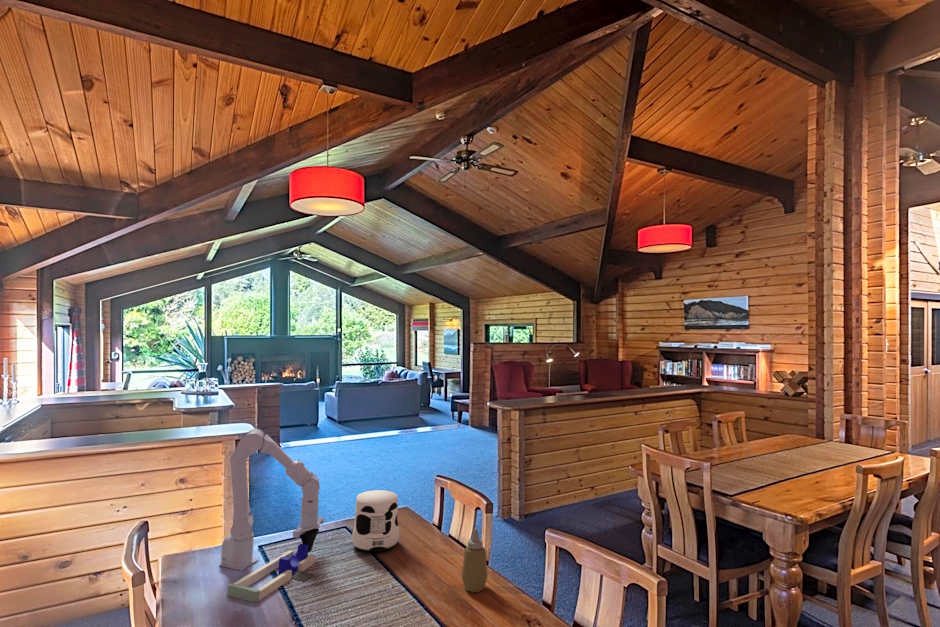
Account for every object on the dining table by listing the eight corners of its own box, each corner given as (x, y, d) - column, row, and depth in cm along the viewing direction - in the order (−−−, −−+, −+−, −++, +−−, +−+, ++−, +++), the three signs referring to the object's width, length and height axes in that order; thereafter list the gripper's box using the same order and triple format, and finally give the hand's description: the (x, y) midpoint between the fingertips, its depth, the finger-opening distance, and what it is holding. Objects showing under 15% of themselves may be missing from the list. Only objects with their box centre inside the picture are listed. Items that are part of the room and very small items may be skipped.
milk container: (376, 532, 193) (377, 486, 194) (408, 544, 183) (410, 495, 184) (341, 547, 179) (343, 497, 180) (374, 560, 169) (376, 507, 170)
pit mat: (291, 578, 155) (291, 578, 155) (301, 571, 159) (301, 571, 159) (304, 581, 153) (304, 581, 153) (314, 574, 158) (314, 573, 158)
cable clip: (295, 561, 167) (296, 543, 168) (307, 562, 166) (308, 544, 167) (274, 577, 156) (275, 557, 156) (286, 579, 155) (287, 559, 155)
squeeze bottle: (490, 584, 154) (491, 526, 155) (482, 597, 146) (484, 536, 148) (466, 580, 157) (467, 522, 158) (457, 592, 149) (459, 531, 150)
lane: (227, 595, 144) (227, 585, 144) (289, 557, 169) (289, 548, 169) (256, 602, 140) (256, 591, 140) (315, 562, 166) (315, 553, 166)
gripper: (305, 520, 163) (304, 561, 162) (331, 506, 177) (329, 544, 176) (288, 517, 165) (286, 558, 165) (315, 503, 179) (313, 541, 178)
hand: (307, 551), depth 171 cm, fingers closed
